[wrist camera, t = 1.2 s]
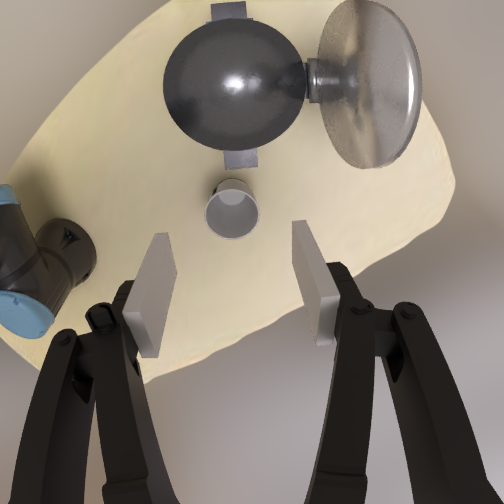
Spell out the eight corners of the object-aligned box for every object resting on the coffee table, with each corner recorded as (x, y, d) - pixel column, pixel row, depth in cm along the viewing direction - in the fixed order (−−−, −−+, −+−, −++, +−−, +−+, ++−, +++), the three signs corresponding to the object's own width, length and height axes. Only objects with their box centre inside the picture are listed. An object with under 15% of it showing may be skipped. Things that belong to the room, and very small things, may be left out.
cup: (215, 165, 52) (211, 183, 43) (260, 177, 53) (266, 197, 44) (204, 207, 55) (199, 232, 47) (247, 217, 57) (250, 244, 48)
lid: (394, 196, 23) (427, 193, 23) (392, -22, 13) (428, -10, 14) (309, 145, 39) (333, 144, 40) (302, 17, 30) (328, 19, 31)
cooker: (185, 157, 50) (173, 177, 40) (171, 26, 38) (153, 11, 28) (305, 147, 51) (324, 165, 40) (298, 17, 39) (317, -1, 28)
